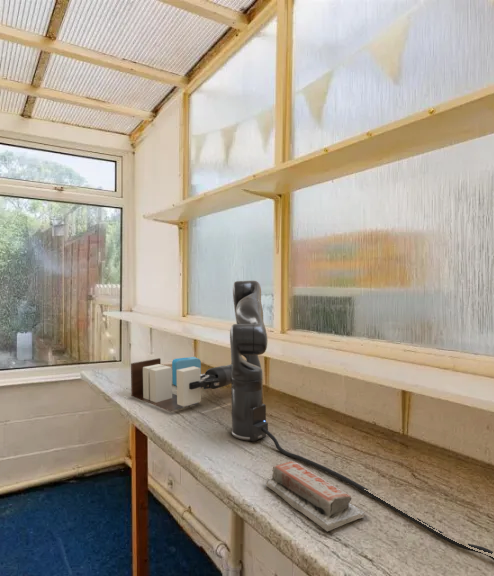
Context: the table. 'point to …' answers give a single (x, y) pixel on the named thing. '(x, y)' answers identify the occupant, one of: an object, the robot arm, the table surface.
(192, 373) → the upright ivory block
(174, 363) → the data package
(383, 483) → the table surface
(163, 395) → the cream rectangular block
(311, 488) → the packaged product
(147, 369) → the white book
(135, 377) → the dark wood bookend
